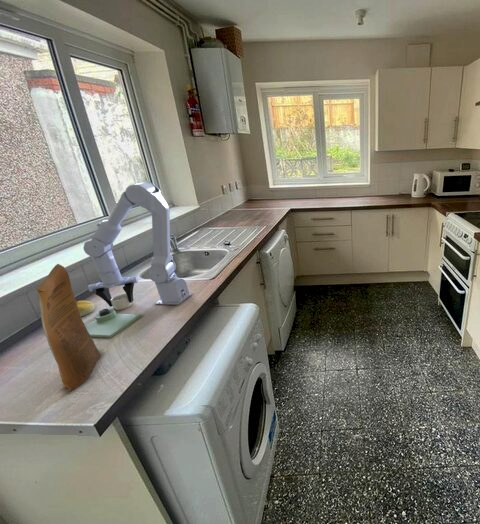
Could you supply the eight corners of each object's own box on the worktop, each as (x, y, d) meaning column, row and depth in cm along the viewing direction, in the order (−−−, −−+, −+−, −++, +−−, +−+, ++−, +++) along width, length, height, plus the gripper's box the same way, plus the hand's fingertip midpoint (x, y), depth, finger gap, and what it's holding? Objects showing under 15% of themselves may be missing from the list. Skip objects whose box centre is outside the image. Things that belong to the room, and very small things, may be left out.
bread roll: (65, 322, 100) (60, 312, 98) (67, 312, 106) (62, 303, 105) (95, 313, 105) (91, 303, 103) (95, 304, 111) (91, 295, 110)
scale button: (111, 312, 100) (110, 308, 100) (105, 316, 98) (103, 312, 97) (105, 312, 101) (103, 308, 100) (98, 316, 98) (96, 312, 98)
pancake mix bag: (112, 344, 87) (73, 259, 76) (90, 389, 71) (37, 288, 60) (84, 351, 84) (40, 264, 73) (55, 399, 68) (-7, 296, 57)
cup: (136, 302, 111) (132, 293, 109) (123, 310, 105) (119, 301, 104) (123, 302, 111) (119, 293, 110) (110, 310, 106) (106, 301, 105)
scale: (141, 316, 101) (139, 310, 100) (110, 337, 90) (107, 331, 89) (107, 314, 103) (104, 309, 102) (72, 336, 92) (69, 329, 91)
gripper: (78, 279, 97) (94, 313, 102) (129, 270, 102) (141, 303, 107) (86, 271, 103) (101, 304, 108) (134, 263, 108) (146, 295, 113)
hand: (121, 303), depth 108 cm, fingers closed on cup, 6 cm apart
